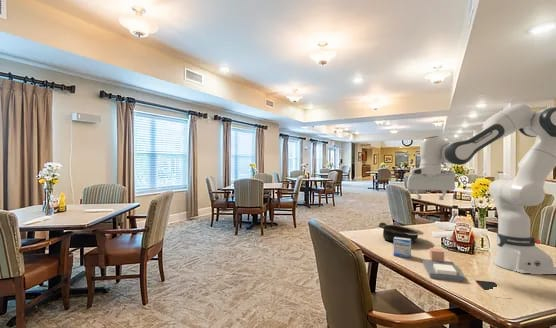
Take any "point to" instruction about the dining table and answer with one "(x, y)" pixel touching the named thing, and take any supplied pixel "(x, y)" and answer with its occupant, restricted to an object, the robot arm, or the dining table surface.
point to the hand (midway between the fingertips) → (430, 199)
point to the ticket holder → (443, 270)
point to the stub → (436, 254)
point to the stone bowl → (399, 232)
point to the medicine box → (402, 247)
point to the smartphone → (486, 284)
